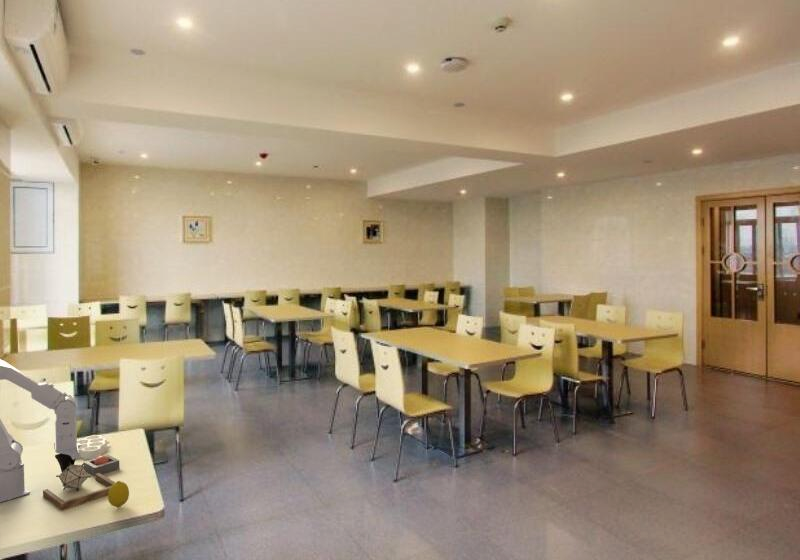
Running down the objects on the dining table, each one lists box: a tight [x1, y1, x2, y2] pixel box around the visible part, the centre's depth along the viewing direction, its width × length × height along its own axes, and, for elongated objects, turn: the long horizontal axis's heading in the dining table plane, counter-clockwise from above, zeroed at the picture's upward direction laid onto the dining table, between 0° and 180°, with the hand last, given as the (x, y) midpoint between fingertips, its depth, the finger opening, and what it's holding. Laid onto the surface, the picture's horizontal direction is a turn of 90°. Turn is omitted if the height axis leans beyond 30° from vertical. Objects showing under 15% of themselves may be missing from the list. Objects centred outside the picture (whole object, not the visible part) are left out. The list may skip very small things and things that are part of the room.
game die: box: [55, 462, 92, 492], centre depth 169 cm, size 9×8×10 cm
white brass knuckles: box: [77, 434, 111, 460], centre depth 201 cm, size 3×18×15 cm
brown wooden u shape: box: [42, 473, 116, 511], centre depth 166 cm, size 16×14×2 cm
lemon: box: [107, 480, 130, 509], centre depth 158 cm, size 6×6×8 cm
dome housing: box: [83, 454, 120, 477], centre depth 184 cm, size 8×8×3 cm
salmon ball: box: [94, 455, 109, 466], centre depth 184 cm, size 4×4×4 cm
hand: (67, 475), depth 173 cm, fingers closed
